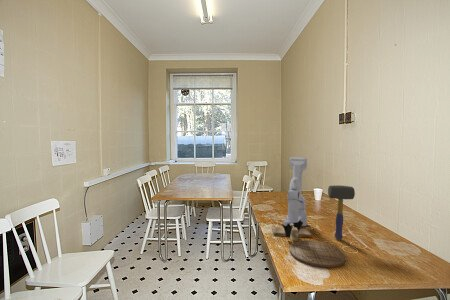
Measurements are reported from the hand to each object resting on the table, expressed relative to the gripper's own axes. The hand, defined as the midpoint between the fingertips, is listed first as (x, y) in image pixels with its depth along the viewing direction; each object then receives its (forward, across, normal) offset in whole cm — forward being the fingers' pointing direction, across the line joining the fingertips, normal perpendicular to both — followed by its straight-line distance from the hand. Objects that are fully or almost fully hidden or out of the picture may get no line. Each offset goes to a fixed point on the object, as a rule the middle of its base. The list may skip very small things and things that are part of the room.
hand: (292, 235), depth 136 cm
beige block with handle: (+2, -3, -2) cm, 4 cm away
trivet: (+2, +6, +18) cm, 19 cm away
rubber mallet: (+2, -21, +16) cm, 26 cm away
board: (+2, -6, -5) cm, 8 cm away
